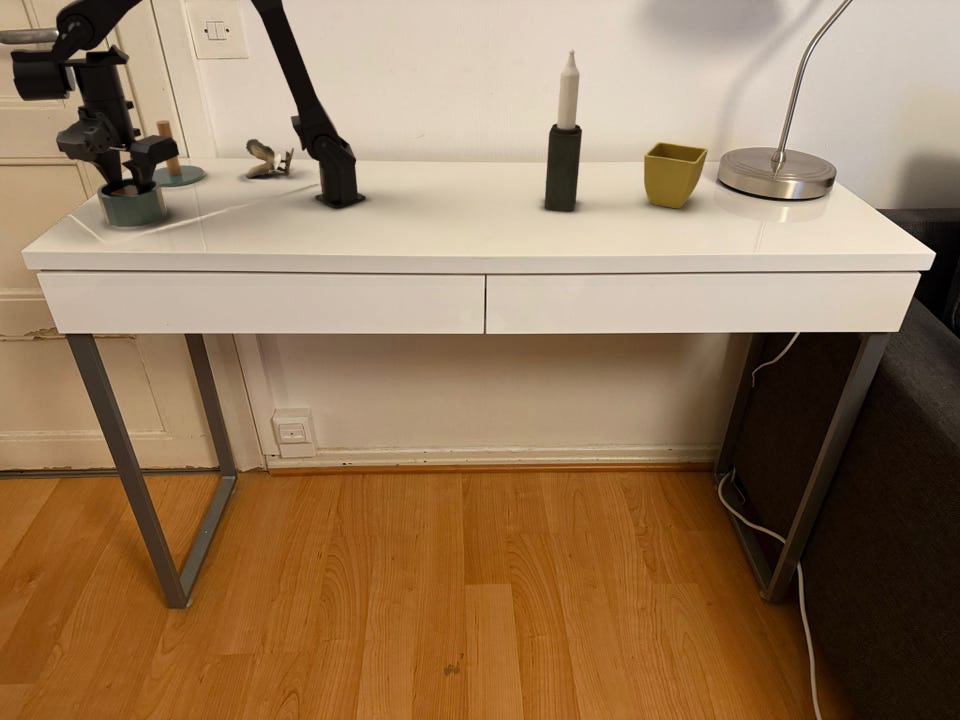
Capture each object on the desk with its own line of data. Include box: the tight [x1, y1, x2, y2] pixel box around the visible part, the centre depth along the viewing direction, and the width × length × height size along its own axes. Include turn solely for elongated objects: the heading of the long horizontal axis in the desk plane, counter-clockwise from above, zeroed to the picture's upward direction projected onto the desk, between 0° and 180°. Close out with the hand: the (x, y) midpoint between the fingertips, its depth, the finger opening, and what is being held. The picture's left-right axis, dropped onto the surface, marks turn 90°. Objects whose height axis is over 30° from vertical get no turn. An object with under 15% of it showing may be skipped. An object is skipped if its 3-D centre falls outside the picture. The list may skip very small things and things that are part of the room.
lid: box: [153, 119, 206, 188], centre depth 125 cm, size 10×10×11 cm
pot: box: [96, 177, 168, 228], centre depth 112 cm, size 9×9×5 cm
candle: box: [544, 49, 583, 213], centre depth 113 cm, size 5×5×25 cm
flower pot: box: [643, 141, 709, 209], centre depth 119 cm, size 9×9×9 cm
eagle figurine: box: [245, 138, 295, 179], centre depth 129 cm, size 8×7×9 cm
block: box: [111, 185, 138, 197], centre depth 112 cm, size 4×4×4 cm
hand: (132, 198), depth 111 cm, fingers open, 5 cm apart
